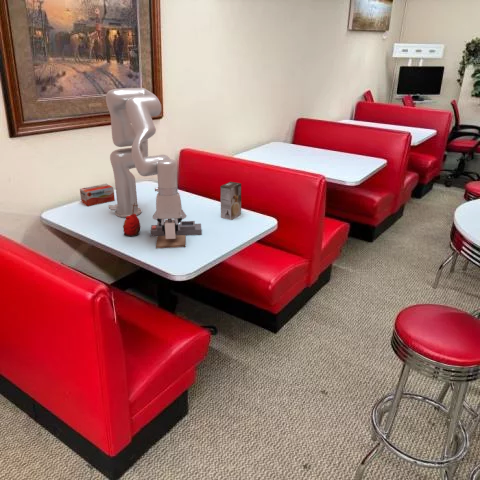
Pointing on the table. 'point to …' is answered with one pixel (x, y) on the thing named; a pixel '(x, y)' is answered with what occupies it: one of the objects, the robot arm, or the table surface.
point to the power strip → (183, 229)
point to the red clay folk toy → (131, 224)
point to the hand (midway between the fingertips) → (170, 232)
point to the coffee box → (230, 200)
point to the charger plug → (170, 229)
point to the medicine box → (97, 194)
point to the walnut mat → (171, 242)
